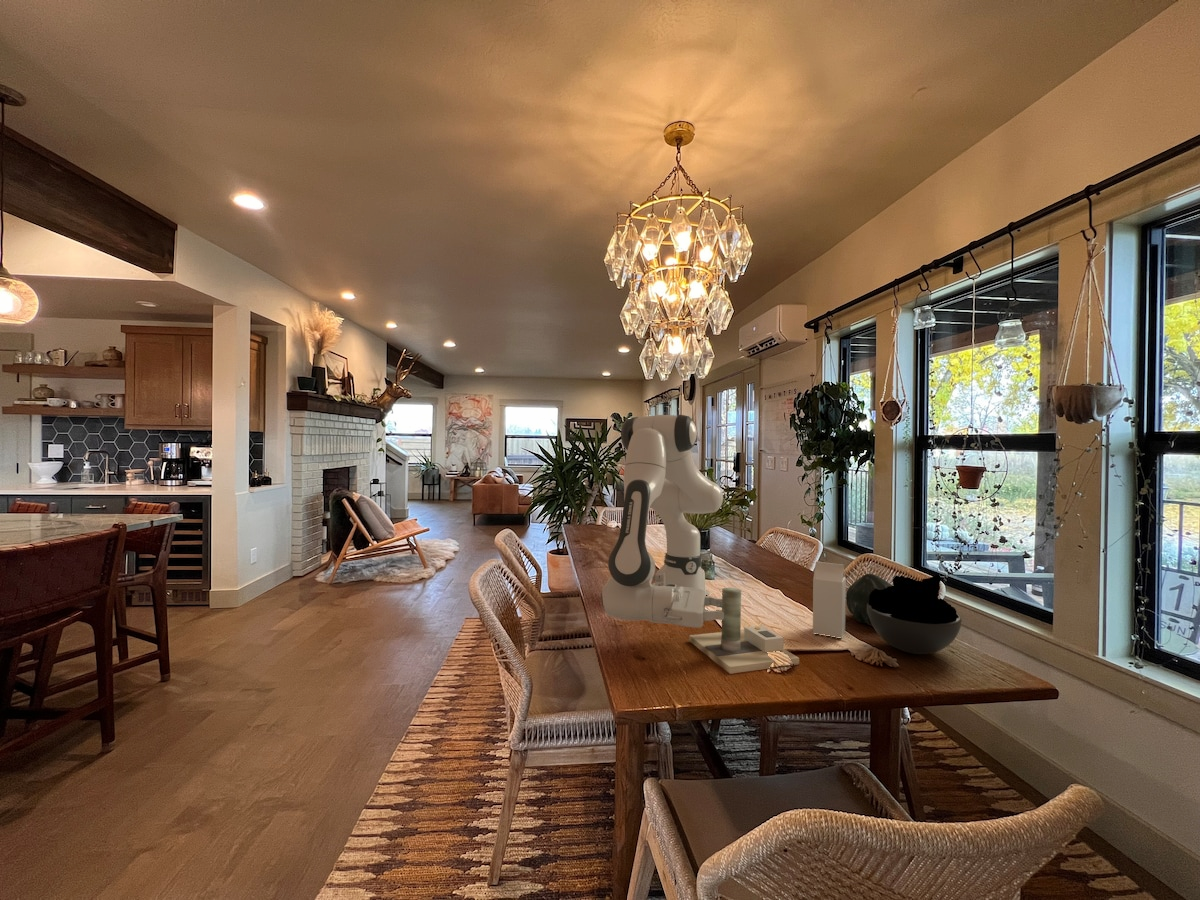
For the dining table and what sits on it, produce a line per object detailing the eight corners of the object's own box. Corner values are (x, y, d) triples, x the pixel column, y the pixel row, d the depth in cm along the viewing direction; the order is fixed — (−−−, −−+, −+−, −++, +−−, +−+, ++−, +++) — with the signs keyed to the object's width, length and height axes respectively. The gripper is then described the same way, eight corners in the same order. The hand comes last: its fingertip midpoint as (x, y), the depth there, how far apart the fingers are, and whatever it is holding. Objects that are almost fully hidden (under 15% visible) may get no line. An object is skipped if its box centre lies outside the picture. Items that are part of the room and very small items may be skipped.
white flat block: (689, 641, 135) (689, 634, 135) (750, 634, 140) (750, 628, 140) (730, 673, 116) (730, 666, 116) (799, 664, 121) (799, 657, 121)
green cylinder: (717, 645, 128) (718, 588, 127) (734, 643, 129) (735, 587, 129) (727, 652, 123) (728, 593, 123) (744, 650, 124) (745, 592, 124)
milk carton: (841, 640, 136) (842, 567, 136) (812, 634, 140) (813, 563, 140) (845, 631, 142) (845, 562, 142) (817, 627, 146) (817, 559, 146)
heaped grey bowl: (873, 661, 123) (874, 581, 123) (861, 632, 142) (861, 563, 142) (974, 673, 116) (974, 589, 116) (946, 642, 135) (947, 569, 135)
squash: (901, 597, 156) (866, 559, 157) (923, 615, 142) (884, 572, 143) (862, 626, 158) (828, 588, 160) (880, 647, 144) (842, 604, 145)
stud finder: (744, 638, 132) (744, 626, 132) (761, 636, 134) (761, 624, 134) (765, 652, 124) (765, 638, 124) (783, 650, 125) (783, 636, 125)
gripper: (661, 604, 119) (724, 609, 116) (670, 581, 139) (723, 585, 136) (661, 631, 119) (723, 637, 116) (670, 605, 139) (723, 609, 136)
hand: (723, 609), depth 126 cm, fingers open, 8 cm apart
